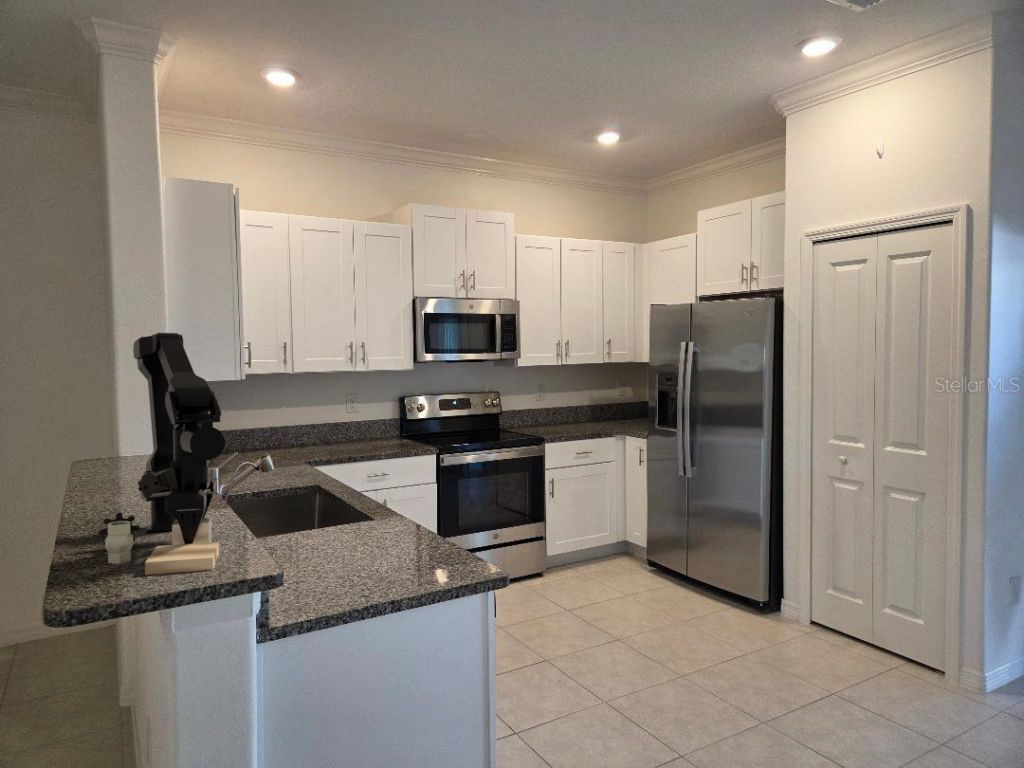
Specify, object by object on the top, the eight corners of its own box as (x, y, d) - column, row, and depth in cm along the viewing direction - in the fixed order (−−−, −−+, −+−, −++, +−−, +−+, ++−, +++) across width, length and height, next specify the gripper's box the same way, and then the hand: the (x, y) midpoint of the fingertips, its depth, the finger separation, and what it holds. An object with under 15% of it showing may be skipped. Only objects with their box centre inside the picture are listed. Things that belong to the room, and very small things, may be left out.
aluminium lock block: (176, 546, 127) (175, 519, 127) (211, 544, 129) (211, 517, 129) (172, 552, 124) (172, 524, 123) (209, 549, 125) (208, 522, 125)
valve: (141, 562, 118) (140, 544, 128) (141, 523, 118) (139, 509, 128) (96, 567, 115) (98, 549, 125) (96, 528, 114) (98, 513, 125)
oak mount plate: (157, 557, 120) (156, 546, 120) (219, 552, 123) (219, 541, 123) (145, 575, 111) (144, 562, 110) (212, 569, 114) (212, 557, 113)
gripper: (151, 448, 132) (153, 529, 133) (129, 463, 114) (131, 556, 115) (215, 446, 136) (216, 525, 136) (203, 460, 118) (204, 551, 118)
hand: (192, 538), depth 126 cm, fingers open, 9 cm apart
